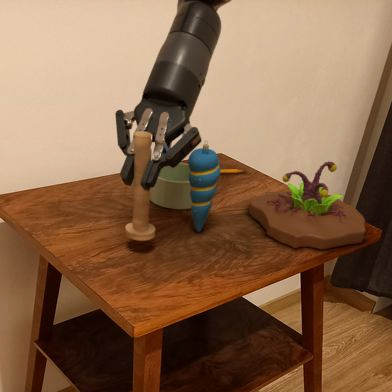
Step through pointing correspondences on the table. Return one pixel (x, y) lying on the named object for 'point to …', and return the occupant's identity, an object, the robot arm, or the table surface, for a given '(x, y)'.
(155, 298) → the table surface
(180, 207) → the bowl
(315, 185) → the plant
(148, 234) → the stick
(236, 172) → the pencil
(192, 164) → the ornament
